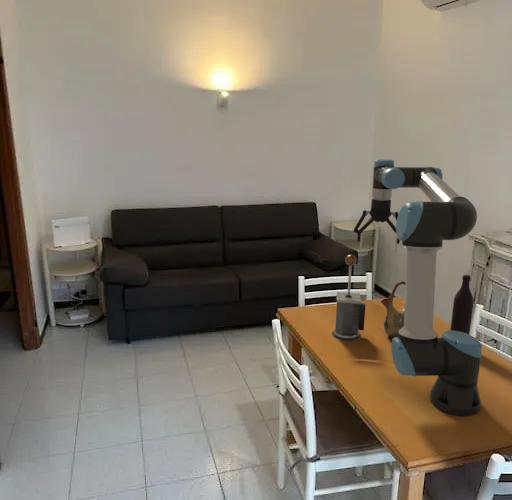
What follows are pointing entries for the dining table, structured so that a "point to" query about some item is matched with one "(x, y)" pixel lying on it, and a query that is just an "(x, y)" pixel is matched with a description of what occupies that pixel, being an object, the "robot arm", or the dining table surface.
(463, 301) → the wine bottle
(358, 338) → the trivet
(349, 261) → the plunger
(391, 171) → the robot arm
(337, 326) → the french press
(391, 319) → the ceramic vessel
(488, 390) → the dining table surface
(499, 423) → the dining table surface
